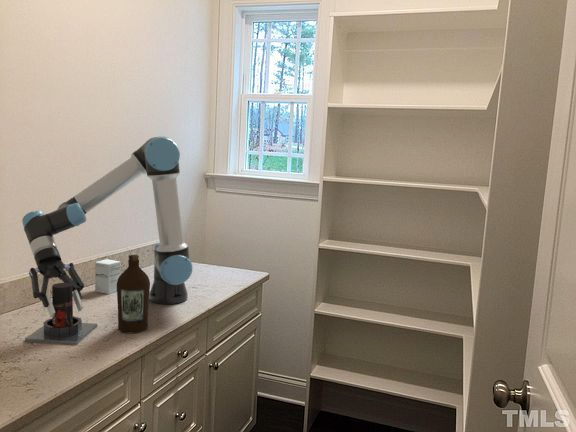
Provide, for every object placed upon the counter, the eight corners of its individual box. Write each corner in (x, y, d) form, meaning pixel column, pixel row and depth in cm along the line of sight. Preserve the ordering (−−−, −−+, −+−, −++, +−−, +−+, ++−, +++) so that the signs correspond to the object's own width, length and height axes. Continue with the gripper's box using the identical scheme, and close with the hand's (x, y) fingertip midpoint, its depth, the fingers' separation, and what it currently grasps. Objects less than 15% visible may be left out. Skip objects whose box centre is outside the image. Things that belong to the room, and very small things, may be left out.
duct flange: (97, 326, 171) (97, 315, 170) (76, 344, 155) (76, 332, 154) (50, 323, 171) (50, 312, 171) (24, 341, 155) (24, 329, 155)
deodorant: (76, 329, 165) (76, 284, 163) (63, 335, 159) (62, 288, 157) (62, 326, 167) (61, 281, 165) (48, 332, 161) (47, 286, 159)
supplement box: (94, 291, 210) (94, 262, 208) (106, 287, 216) (107, 258, 215) (108, 294, 207) (108, 264, 205) (120, 290, 214) (121, 260, 212)
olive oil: (118, 323, 175) (118, 252, 171) (150, 322, 177) (151, 252, 174) (114, 334, 164) (115, 259, 161) (148, 333, 167) (149, 259, 164)
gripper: (73, 255, 178) (95, 311, 169) (9, 263, 163) (29, 325, 154) (80, 243, 174) (102, 299, 165) (14, 249, 159) (35, 312, 150)
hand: (67, 311), depth 160 cm, fingers open, 8 cm apart
